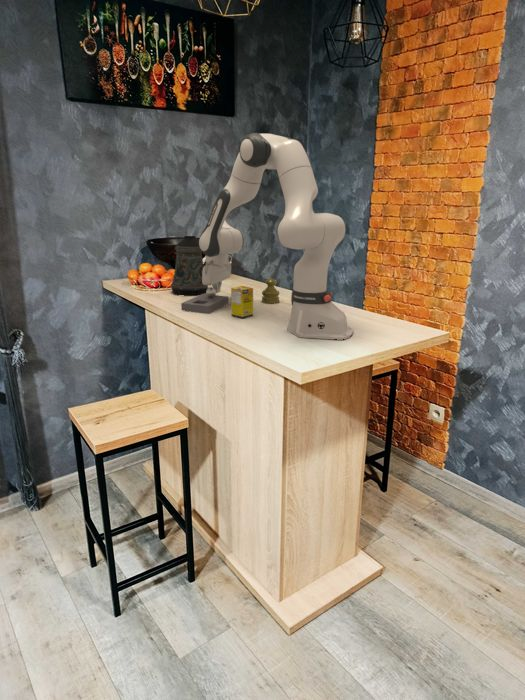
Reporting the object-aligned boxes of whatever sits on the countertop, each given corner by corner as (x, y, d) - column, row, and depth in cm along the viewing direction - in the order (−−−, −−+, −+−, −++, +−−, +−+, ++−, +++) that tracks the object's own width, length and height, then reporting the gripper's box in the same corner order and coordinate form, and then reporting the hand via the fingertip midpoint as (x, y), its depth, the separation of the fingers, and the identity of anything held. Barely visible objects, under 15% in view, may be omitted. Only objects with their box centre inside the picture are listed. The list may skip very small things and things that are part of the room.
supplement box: (253, 316, 186) (253, 287, 183) (242, 319, 182) (242, 290, 179) (242, 313, 190) (242, 285, 187) (231, 316, 186) (230, 287, 182)
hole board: (228, 303, 205) (228, 296, 204) (209, 313, 189) (208, 306, 188) (202, 300, 209) (202, 293, 208) (181, 310, 193) (181, 303, 192)
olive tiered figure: (281, 303, 207) (282, 279, 203) (265, 304, 204) (266, 280, 201) (275, 299, 213) (275, 276, 210) (259, 300, 211) (259, 277, 207)
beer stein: (164, 294, 220) (161, 237, 212) (186, 286, 237) (184, 233, 229) (196, 297, 214) (195, 239, 206) (217, 289, 231) (216, 235, 223)
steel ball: (217, 296, 203) (217, 287, 202) (213, 298, 200) (213, 288, 198) (208, 295, 205) (208, 286, 203) (204, 297, 201) (204, 288, 200)
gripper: (212, 263, 192) (212, 298, 196) (233, 256, 210) (233, 288, 214) (197, 262, 194) (198, 296, 198) (220, 255, 212) (220, 287, 216)
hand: (217, 292), depth 206 cm, fingers closed
